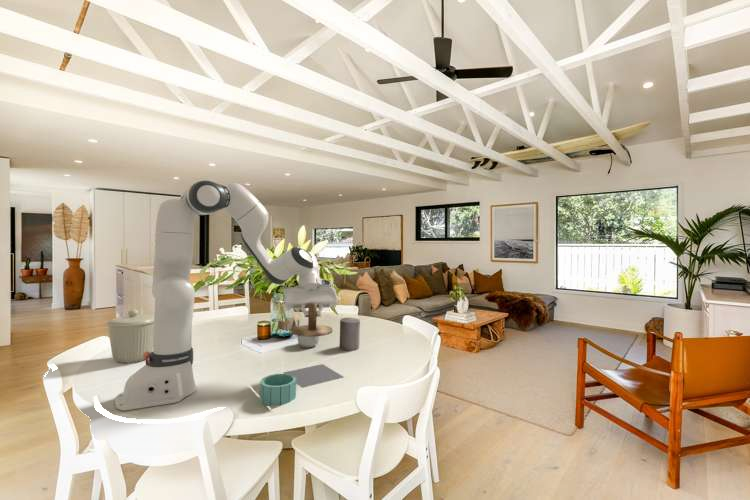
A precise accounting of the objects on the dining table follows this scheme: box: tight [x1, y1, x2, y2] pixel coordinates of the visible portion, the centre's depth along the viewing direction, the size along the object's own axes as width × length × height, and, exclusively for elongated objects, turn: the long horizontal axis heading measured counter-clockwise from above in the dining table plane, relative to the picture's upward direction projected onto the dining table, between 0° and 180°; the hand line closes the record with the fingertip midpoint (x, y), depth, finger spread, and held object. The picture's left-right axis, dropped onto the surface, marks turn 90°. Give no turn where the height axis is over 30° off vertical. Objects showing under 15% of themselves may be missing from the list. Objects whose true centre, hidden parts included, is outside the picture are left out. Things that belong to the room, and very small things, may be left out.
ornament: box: [279, 310, 300, 331], centre depth 188 cm, size 15×15×15 cm
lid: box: [292, 302, 333, 337], centre depth 132 cm, size 15×15×11 cm
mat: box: [282, 363, 344, 389], centre depth 133 cm, size 17×17×1 cm
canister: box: [106, 309, 154, 364], centre depth 148 cm, size 18×18×21 cm
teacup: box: [296, 335, 320, 348], centre depth 174 cm, size 14×11×8 cm
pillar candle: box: [339, 317, 361, 352], centre depth 170 cm, size 10×10×15 cm
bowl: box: [259, 373, 297, 407], centre depth 114 cm, size 11×11×6 cm
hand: (312, 316), depth 131 cm, fingers closed on lid, 3 cm apart
